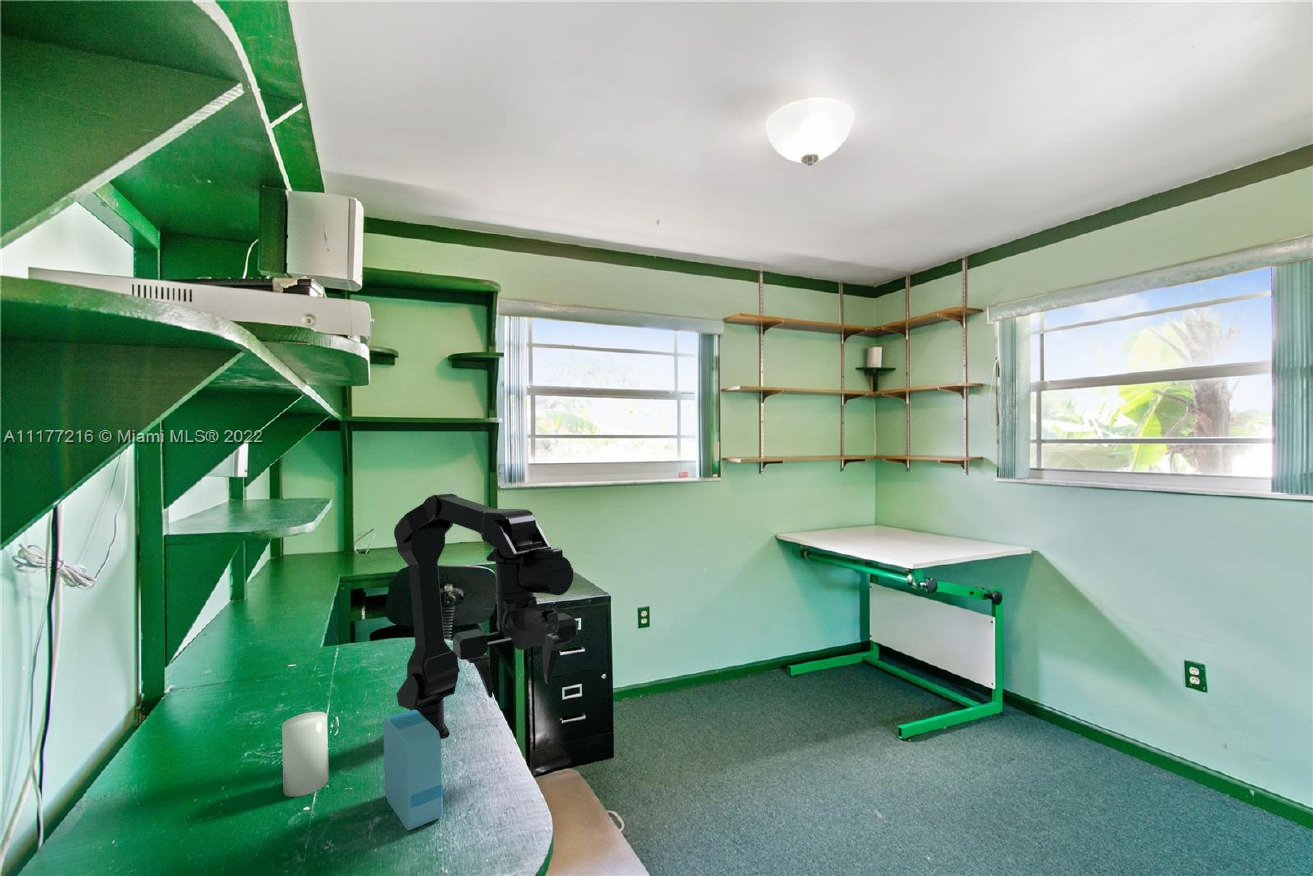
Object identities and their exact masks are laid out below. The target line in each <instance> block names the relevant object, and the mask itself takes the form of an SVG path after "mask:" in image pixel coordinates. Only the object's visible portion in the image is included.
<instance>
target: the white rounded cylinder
mask: <svg viewBox="0 0 1313 876" xmlns="http://www.w3.org/2000/svg"><path fill="white" fill-rule="evenodd" d="M281 728H282V729H281V732H282V733H281V735H282V737H281V738H282V739H281V740H282V781H283V782H282V784H283V786H282V787H283V792H284V793H283V795H284V794H285V795H284V796H285V797H288V798H289V797H292V798H297V797H303V796H306V795H309V794H314V793H315V792H318V791H319V790H321V789H322V787H323V788H324V787H325V786H326V785H327V784H328V783H329V780H330V779H329V747H328V746H329V743H328V739H329V738H328V734H329V733H328V714H327V713H326V712H324V711H311V712H305V713H301V714H298V715H296V716H292V717H290V718H288V719H287V720H285V721H284V722H283V723H282V725H281ZM328 779H329V780H328ZM327 782H328V783H327ZM326 783H327V784H326ZM325 784H326V785H325ZM317 790H318V791H317Z"/></svg>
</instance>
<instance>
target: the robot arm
mask: <svg viewBox="0 0 1313 876" xmlns="http://www.w3.org/2000/svg"><path fill="white" fill-rule="evenodd" d="M454 525H457V526H460V527H462V528H466V529H467V530H470V531H474V532H476V533H478V534H480V537H481V540H482V541H483V542H485V544H487V545H489V546H490V547H492V548H493V550H492V551H491V552H490V553H489V554H488V555H487V557H486V561H487V562H494V563H495V580H496V581H495V585H496V595H494V596H495V597H494V599H495V603H496V605H497V606H496V610H497V621H495V622H496V629H497V631H495V632H490V633H484V632H483V631H482V630H480V629H479V628H477V629H471V630H465V631H460V632H456V633H455V635H454V636H453V638H452V649H451V647H450V646H449V645H448V644H447V642H446V641H445V632H444V620H443V608H442V597H441V588H440V585H441V584H440V575H439V574H440V572H439V564H438V563H439V560H440V558H441V555H442V554H443V551H444V549H445V547H446V534H447V533H448V531H450V529H451V528H453V526H454ZM393 536H394V540H395V542H396V548H397V552H398V554H399V555H400V557H401V558H402V559H403V561H404V562H405V563H406V564H407V567H408V571H409V572H408V573H409V574H408V575H409V586H410V596H411V597H410V599H411V610H412V620H413V621H412V623H413V632H414V648H413V651H412V652H411V655H410V657H409V659H408V661H407V664H406V679H404V682H403V683H402V684H401V686H400V688H399V689H398V691H397V692H396V699H397V705H398V706H399V707H402V708H404V709H407V710H409V711H412V710H417V711H418V712H419V713H420V714H421V715H422V716H423V717H424V718H425V719H427V720H428V721H429V722H430V723H431V724H432V725H433V726H434V727H435V728H436V729H437V730H438V732H439V735H440V739H442V738H445V737H449V736H450V735H451V734H450V733H451V732H450V730H449V728H448V726H447V725H446V723H445V700H444V699H445V698H446V697H449V696H453V695H455V692H456V688H457V683H458V680H459V673H460V672H461V670H460V666H459V660H464V661H465V660H466V661H467V663H469V664H473V665H474V667H475V668H476V671H477V673H478V674H479V677H480V680H481V682H482V684H483V687H484V689H485V691H486V693H487V696H488V697H489V698H490V699H491V698H492V699H493V681H492V676H491V667H490V661H491V656H490V655H489V654H488V653H487V651H489V647H492V646H493V647H494V646H497V645H502V644H508V643H513V645H514V648H515V649H516V650H520V651H523V650H524V651H525V650H527V649H528V648H532V647H537V646H538V647H542V668H543V669H542V671H543V677H544V682H545V684H547V685H548V684H550V682H551V680H552V675H553V672H554V668H555V666H556V665H555V664H556V661H557V659H558V656H559V654H560V651H561V649H562V648H563V647H564V645H566V644H568V643H570V642H571V640H572V638H574V637H577V636H578V635H579V625H578V622H577V620H576V619H575V618H574V617H573V616H571V615H568V614H566V613H565V612H561V613H559V612H558V610H557V609H556V608H555V607H552V608H548V609H544V610H539V607H538V601H537V596H535V595H534V594H541V595H542V594H543V595H551V596H562V595H565V594H566V593H567V592H568V590H569V589H570V588H571V586H572V584H573V580H574V568H573V567H572V564H571V562H570V560H568V558H567V557H565V556H564V555H563V548H557V547H556V548H552V546H551V544H550V543H549V539H548V538H547V537H546V535H545V534H544V532H543V530H542V529H541V527H540V525H539V523H538V521H537V519H536V518H535V514H534V512H532V511H530V510H529V509H522V508H521V509H519V508H494V507H491V506H487V505H485V504H482V503H478V502H475V501H472V500H469V499H465V498H462V497H460V496H458V495H456V494H454V493H441V494H440V493H439V494H432V495H430V496H428V497H427V498H426V499H425V500H424V501H423V503H422V504H420V505H418V506H416V507H415V508H412V509H411V510H410V511H408V512H407V513H405V514H404V515H403V517H402V518H400V520H399V521H398V522H397V524H396V525H395V527H394V530H393Z"/></svg>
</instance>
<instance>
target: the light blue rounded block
mask: <svg viewBox="0 0 1313 876" xmlns="http://www.w3.org/2000/svg"><path fill="white" fill-rule="evenodd" d="M382 725H383V726H382V727H383V763H384V764H383V767H384V768H383V771H384V772H383V773H384V792H385V797H386V801H387V802H388V804H389V806H390V807H391V809H392V810H393V812H394V813H395V814H396V816H397V817H398V819H399V820H400V822H401V824H402V825H403V827H404V829H405V830H406V831H411V830H414V829H416V828H419V827H422V826H423V825H426V824H429V823H430V822H433V821H436V820H438V819H440V818H442V816H443V812H444V804H443V803H444V802H443V799H444V798H443V767H442V761H443V760H442V740H441V739H442V738H440V735H439V732H438V730H437V729H436V728H435V727H434V726H433V725H432V724H431V723H430V722H429V721H428V720H427V719H425V718H424V717H423V716H422V715H421V714H420V713H419V712H418V711H417V710H412V711H410V710H408V711H406V712H405V711H404V712H402V713H399V714H394V715H392V716H387V717H385V719H384V720H383V724H382Z"/></svg>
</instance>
